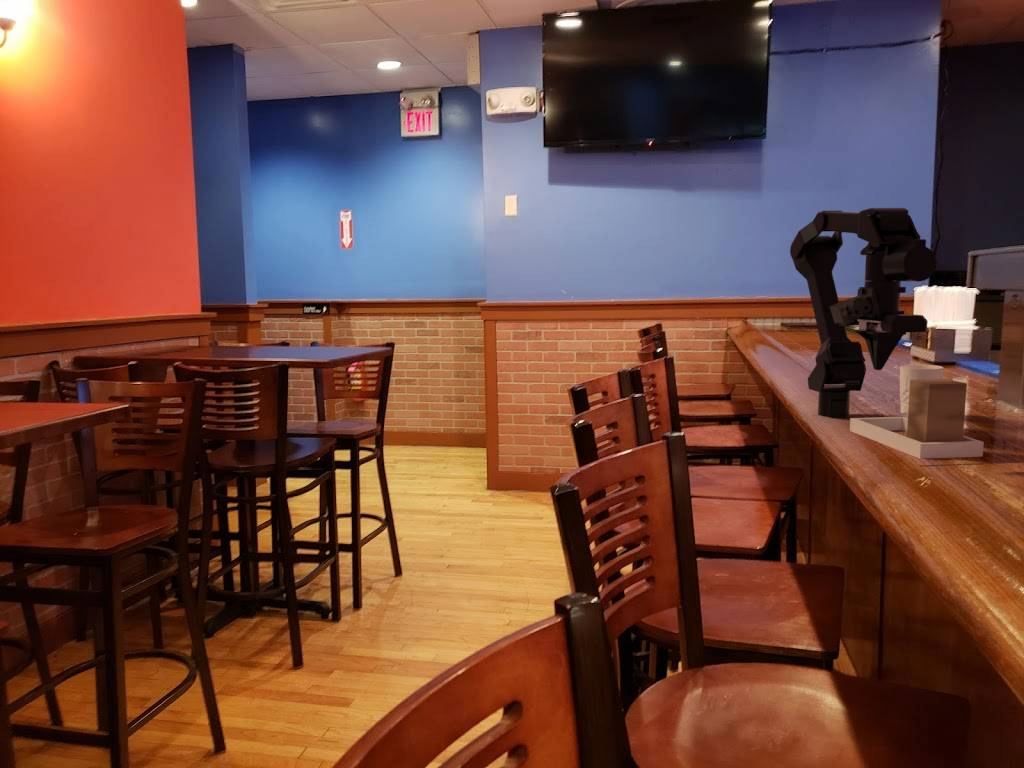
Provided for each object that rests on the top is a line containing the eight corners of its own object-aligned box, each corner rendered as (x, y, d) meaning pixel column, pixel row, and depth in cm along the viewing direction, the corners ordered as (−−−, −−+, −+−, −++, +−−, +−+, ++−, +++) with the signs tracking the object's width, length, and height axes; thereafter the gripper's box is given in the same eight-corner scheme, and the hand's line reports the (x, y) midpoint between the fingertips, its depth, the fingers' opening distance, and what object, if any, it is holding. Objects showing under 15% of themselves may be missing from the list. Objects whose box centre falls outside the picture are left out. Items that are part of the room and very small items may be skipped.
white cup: (948, 418, 155) (951, 368, 154) (908, 418, 155) (911, 369, 154) (928, 411, 163) (931, 364, 161) (890, 411, 163) (892, 364, 162)
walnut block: (906, 447, 125) (910, 379, 123) (941, 446, 125) (946, 378, 124) (924, 454, 120) (929, 384, 118) (961, 453, 120) (966, 383, 119)
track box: (849, 437, 139) (850, 418, 138) (903, 435, 140) (904, 416, 139) (919, 466, 118) (920, 444, 118) (982, 464, 119) (983, 441, 118)
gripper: (813, 281, 145) (809, 364, 147) (866, 282, 126) (861, 377, 128) (870, 280, 145) (866, 363, 148) (932, 281, 127) (926, 376, 129)
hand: (877, 369), depth 138 cm, fingers closed
